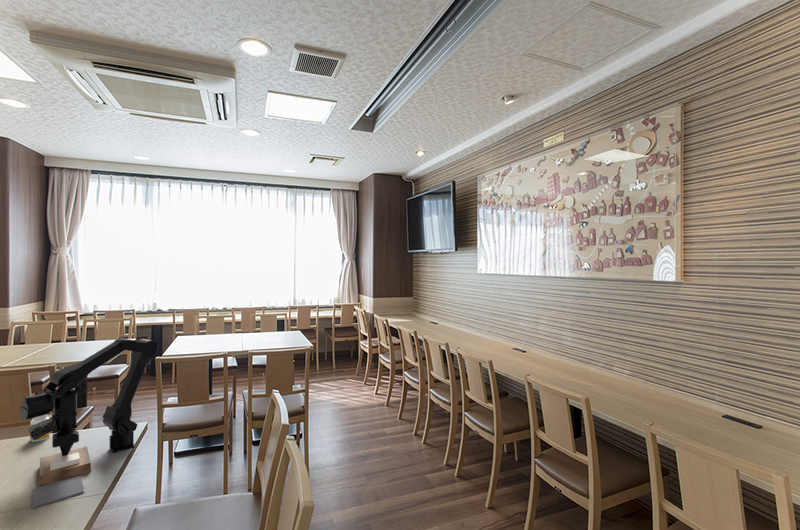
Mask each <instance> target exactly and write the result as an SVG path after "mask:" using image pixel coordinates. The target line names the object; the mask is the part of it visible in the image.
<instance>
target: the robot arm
mask: <svg viewBox="0 0 800 530" xmlns="http://www.w3.org/2000/svg"><path fill="white" fill-rule="evenodd" d="M158 350H159V345H158V343H157V341H155V340H151V339H146V338H140V339H138V340H135V339H134V340H133V339H125V338H121V337H120V338H119V337H118V338H117V339H115V340H114V341H113V342H112V343H110V344H109V345H107V346H105V347H103V348H102V349H100V350H98V351H96V352H95V353H94V354H91V355H89V357H86V358H85V359H83V360H81V361H80V362H78V363H74V364H71V365H67V366H66V367H63V368H61V369H58V370H57V371H55V372H54V373H52V376H51V378H50V381H49V382H48V384H47V385H46V386H45V387H44V388H43V390H42V391H41V393H39V394H35V395H34V394H33V395H28V396H23V401H22V402H21V404H20V406H19V413H20V414H19V415H20V417H21V419H22V421H27V420H28V421H29V420H31V419H32V420H33V418H35V417H39V416H43V415H46V414H48V415H49V414H50V413H52V414H51V415H52V416H51V417H49V419H46V420H44V421H42V422H40V423H37V424H35V425H33V426H31V427H30V426H29V428H28V433H29V436H30V435H31V437H32V439H33V440H36V439H38V438H39V437H41V436H43V435H45V434H47V433H49V432H50V433H51V434H52V439H51V440H52V443H51V445H52V448H60V453H62V456H66V455H68V453H69V451H71V449H72V448H73V445H74V444H76V443H78V442H80V434H79V431H78V429H77V428H78V423H77V422H78V421H77V420H78V419H77V415H78V409H77V408H78V394H82V393H85V392H86V390H85V389H84V388H82V387H81V386H80V384H82V382H83V381H85V380H86V379H87V378H88V376H89V375H90V374H91V373H92V372H93V371H95V370H97V369H98V368H99V367H101V366H103V365H104V364H105V363H107V362H109V361H111V360H112V359H113V358H116V357H117V356H119V355H120V354H121V353H123V352H126V351H130V352H131V364H130V367H129V369H128V372H127V373H126V376H125V379H124V381H123V383H122V385H121V387H120V391H119V392H118V395H117V399H116V401H115V402H113V404H112V405H107V406H106V408H105V410H104V412H103V413H104V414H103V415H102V416H101V418H103V419H102V423H103V424H104V426H106V427H107V428H108V429H109V430H110V431H111V433H110V435H109V437H108V438H109V439H108V440H109V442H108V443H109V445H108V446H109V450H111V451H112V453H117V452H121V451H124V450H127V449H132V448H135V443H134V440H135V439H134V438H135V437H134V436H135V435H134V434H135V433H134V431H136V430H137V428H138V423H136V422H134V421H132V420H131V417H132V412H133V411H132V402H133V400H134V397H135V395H136V393H137V389H138V388H139V385H140V382H141V380H142V376H143V374H144V372H145V370H146V367H147V365H148V364H149V363H150V362H151V361H152V360H153V359H154V357H155V356H156V353H157V352H158Z"/></svg>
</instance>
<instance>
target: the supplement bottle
mask: <svg viewBox="0 0 800 530" xmlns="http://www.w3.org/2000/svg"><path fill="white" fill-rule="evenodd" d="M48 415H49V414H46V415H43V416H39V417H35V418H32V420H30V423H29V424H30V425H29V428H30V427H31V426H33V425H35V424H37V423H40V422H42V421H44V420H46V419H49V418H50V417H49V416H48ZM49 434H50V435H51V432H49V433H47V434H45V435H43V436H41V437H39V438H38V439H36V440H33V439H32V437H31V435H30V434H29V436H30V437H29V441H30V442H31V443H32V442H34V443H35V442H41V441H44V440H47V439H48V438H49V437H50V435H49Z"/></svg>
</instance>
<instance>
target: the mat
mask: <svg viewBox="0 0 800 530" xmlns="http://www.w3.org/2000/svg"><path fill="white" fill-rule="evenodd" d="M31 494H32V499H31V501H32V502H31V509H32V510H33V509H36V508H40V507H43V506H46V505H51V504H53V503H56V502H59V501H62V500H66V499H68V498H69V499H70V498H73V497H75V496H78V495H79V496H80V495H81V494H85V491H84V483H83V480H82V474H81V475H78V476H74V477H71V478H67V479H64V480H60V481H57V482H53V483H50V484H46V485H43V486H39V487H36V488H32V493H31Z"/></svg>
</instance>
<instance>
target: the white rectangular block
mask: <svg viewBox="0 0 800 530" xmlns="http://www.w3.org/2000/svg"><path fill="white" fill-rule="evenodd" d="M78 463H80V457H79V452H78V453H74V454H70V455H66V456H62V457H58V458H54V459H50V471H51V470H55V469H59V468H63V467H66V466H70V465H74V464H78Z"/></svg>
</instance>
